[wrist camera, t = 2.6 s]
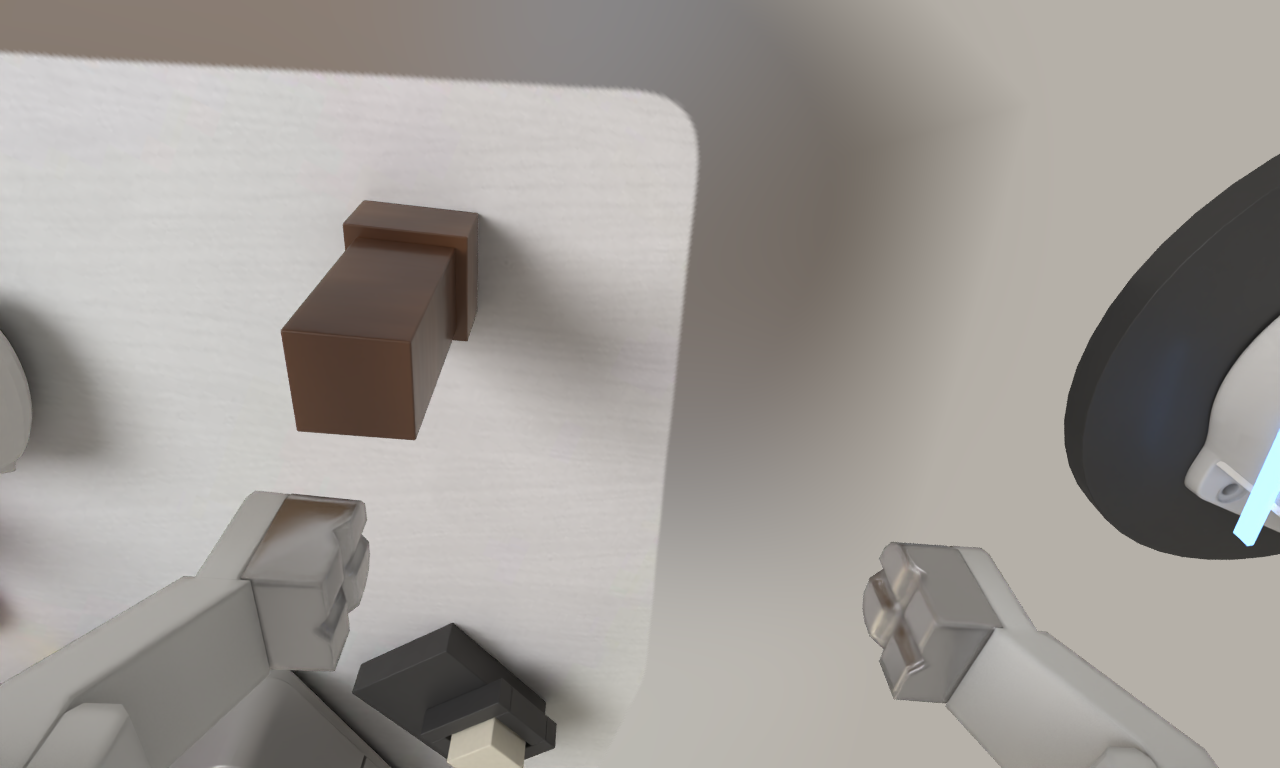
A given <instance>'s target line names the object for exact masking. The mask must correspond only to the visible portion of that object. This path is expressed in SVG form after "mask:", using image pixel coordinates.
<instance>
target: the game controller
mask: <svg viewBox="0 0 1280 768" xmlns="http://www.w3.org/2000/svg"><path fill="white" fill-rule="evenodd" d="M31 424H32V403H31V396H30V391H29V387H28V382H27V379H26V376H25V373H24V371H23V368H22V365H21V363H20V361H19V359H18V357H17V355H16V353H15V351H14V350H13V348H12V346H11V345H10V343H9V341H8V340H7V338H6V337H5V336H4V334H3V333H2V332H1V330H0V474H3V473H8V472H12V471H15V470H16V463H15V460H17V459H18V458H20V457H21V456H22V455H23V453H24V451H25V449H26V447H27V444H28V441H29V437H30V431H31Z"/></svg>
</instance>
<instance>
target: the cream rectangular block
mask: <svg viewBox="0 0 1280 768" xmlns="http://www.w3.org/2000/svg"><path fill="white" fill-rule="evenodd" d="M525 745H526V741H525V740H524V739H522V738H521V737H520V736H518V735H517V734H516V733H515V732H513V731H512V730H511V729H510V728H508V727H507V726H506V725H504V724H503V723H502V722H501V721H499V720H498V719H497V718H496V717H494V718H492V719H489V720H487V721H484V722H482V723H479V724H477V725H475V726H472V727H470V728H467V729H465V730H462V731H460V732H457V733H455V734H452V737H451V742H450V748H449V753H448V758H447V763H448V764H450V765H451V766H453V767H454V768H523V766H524V756H525Z"/></svg>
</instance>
